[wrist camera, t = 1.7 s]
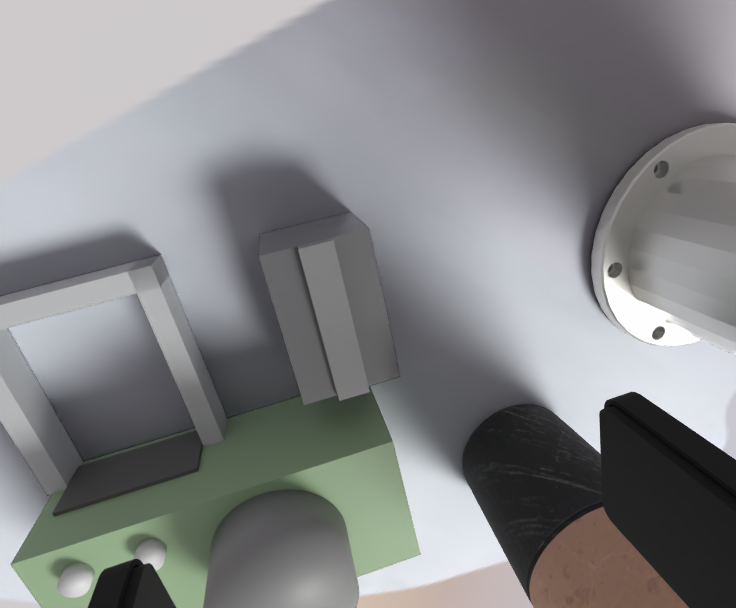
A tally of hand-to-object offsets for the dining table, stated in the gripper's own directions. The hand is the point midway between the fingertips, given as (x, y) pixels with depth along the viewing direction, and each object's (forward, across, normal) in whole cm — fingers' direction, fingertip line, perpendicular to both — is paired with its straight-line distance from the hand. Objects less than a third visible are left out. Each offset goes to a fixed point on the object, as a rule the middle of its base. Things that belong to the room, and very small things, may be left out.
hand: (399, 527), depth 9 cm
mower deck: (+16, +7, +4) cm, 18 cm away
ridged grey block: (+16, 0, 0) cm, 16 cm away
